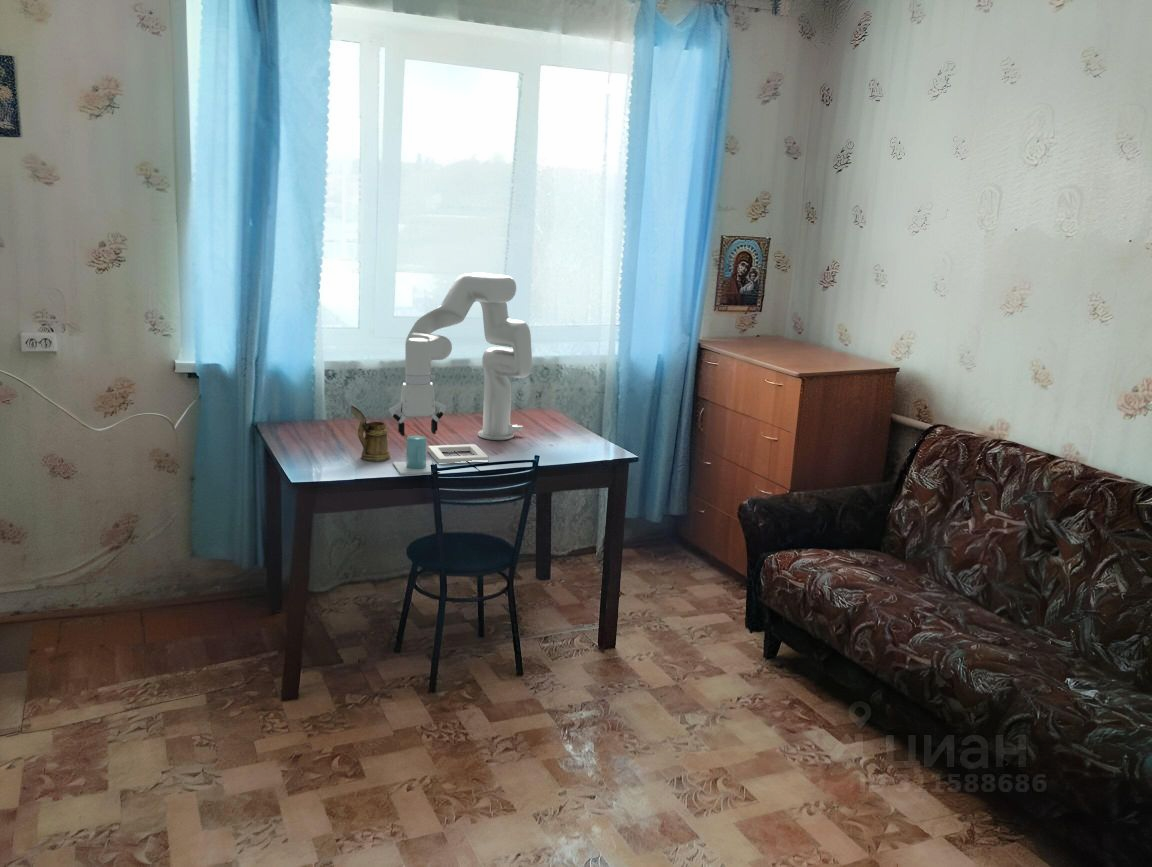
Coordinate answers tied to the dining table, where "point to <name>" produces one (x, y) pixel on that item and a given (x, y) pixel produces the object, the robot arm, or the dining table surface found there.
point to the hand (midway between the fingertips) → (417, 433)
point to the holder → (440, 458)
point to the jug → (416, 452)
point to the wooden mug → (372, 438)
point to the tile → (406, 471)
